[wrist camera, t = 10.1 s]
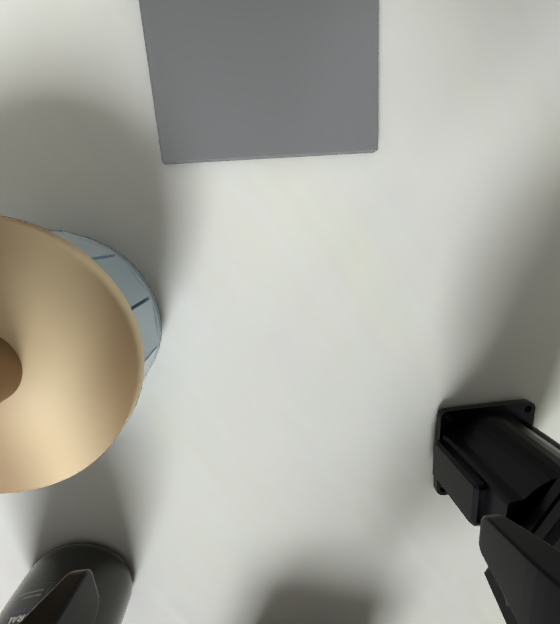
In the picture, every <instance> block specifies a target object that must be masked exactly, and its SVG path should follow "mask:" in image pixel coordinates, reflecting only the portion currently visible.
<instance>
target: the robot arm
mask: <svg viewBox="0 0 560 624" xmlns="http://www.w3.org/2000/svg"><path fill="white" fill-rule="evenodd" d="M525 407H526V408H525ZM534 413H535V405H534V404H533V403H532V402H530V401H528V400H526V399H522V400H513V401H504V402H495V403H486V404H477V405H468V406H459V407H450V408H443V409H441V410H440V411H439V412H438V415H437V430H436V441H435V443H434V458H433V475H434V489H435V490H436V491H437V493H438V494H440V495H449V496H450V497H451V499H452V500H453V501H454V503H455V504H456V505H457V507H458V508H459V509H460V511H461V512H462V513H463V515H464V516H465V517H466V519H467V520H468V521H469V522H470V523H471V524H472V525H473V526H479V525H480V537H479V546H480V550H481V553H482V555H483V557H484V559H485V561H486V563H487V565H488V568H487V570H486V571H485V572H484V573H485V576H486V578H487V580H488V583H489V585H490V587H491V589H492V592H493V594H494V596H495V599H496V601H497V603H498V605H499V608H500V610H501V612H502V614H503V617H504V619H505V621H506V623H507V624H560V444H559V443H557V442H556V441H554V440H553V439H551V438H550V437H549V436H547V435H546V434H544V433H543V432H541V431H540V430H538V429H537V428H535V427H534V426H533V421H534ZM446 415H448V416H447V417H446V418H445V416H446ZM98 604H99V596H98V591H97V588H96V584H95V580H94V577H93V573H92V571H91V570H90V569H83V570H76V571H72V572H70V573H68V574H67V575H66V576H65V577H64V578H63V579H62V580H61V581H60V582H59V583H58V584H57V585H56V586H55V587H54V588H53V589H52V590H51V591H50V592H49V593H48V594H47V595H46V596H45V597H44V598H43V599H42V600H41V601H40V602H39V603H38V604H37V605H36V606H35V607H34V608H33V609H32V610H31V611H30V612H29V613H28V614H27V615H26V616H25V617H24V618H23V619H22V621H21V622H20V623H19V624H94V621H95V617H96V614H97V610H98Z"/></svg>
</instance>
